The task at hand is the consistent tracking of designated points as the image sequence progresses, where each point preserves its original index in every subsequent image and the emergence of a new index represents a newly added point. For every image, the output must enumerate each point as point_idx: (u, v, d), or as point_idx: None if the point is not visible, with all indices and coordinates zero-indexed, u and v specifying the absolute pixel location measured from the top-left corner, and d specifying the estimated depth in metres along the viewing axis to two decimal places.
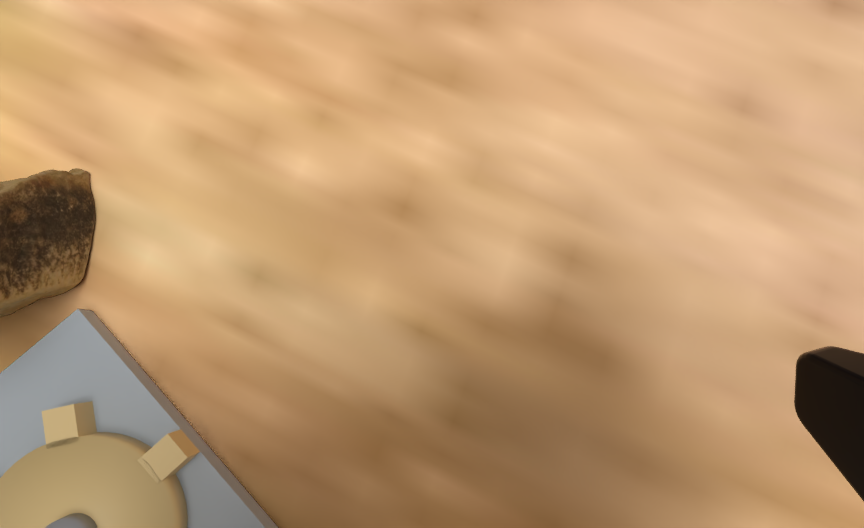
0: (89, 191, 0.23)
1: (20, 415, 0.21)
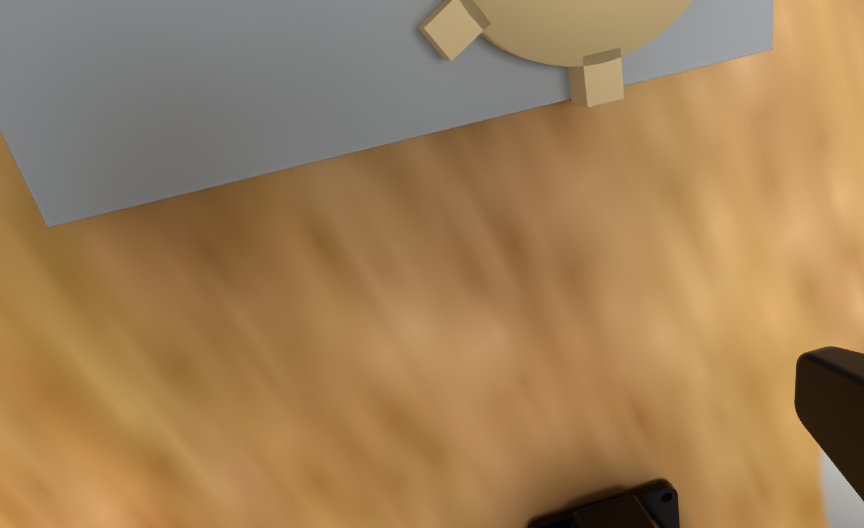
0: None
1: None
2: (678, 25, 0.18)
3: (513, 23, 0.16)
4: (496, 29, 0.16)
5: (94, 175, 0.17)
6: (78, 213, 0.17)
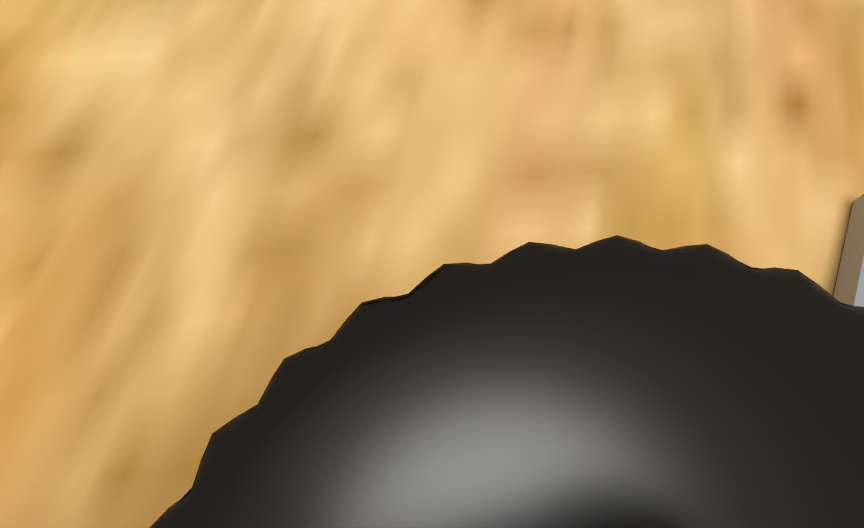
0: None
1: None
2: None
3: None
4: None
5: None
6: None
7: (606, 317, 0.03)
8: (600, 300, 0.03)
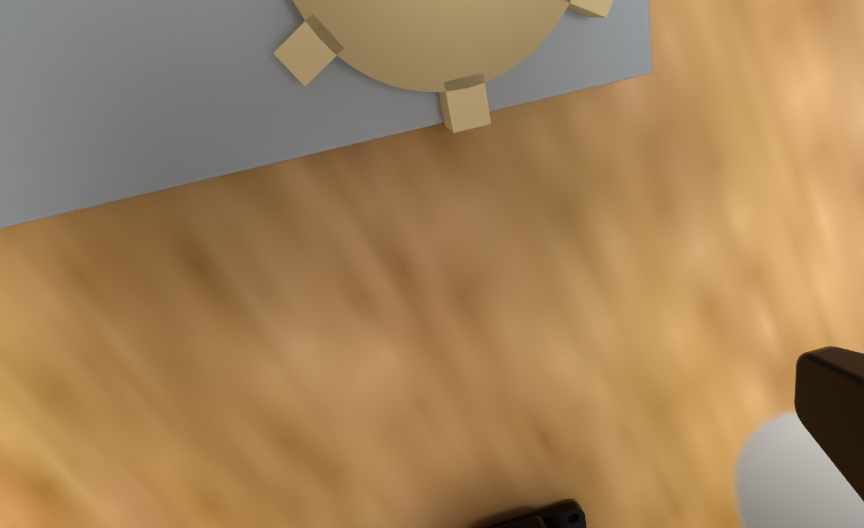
0: None
1: None
2: (552, 48, 0.18)
3: (368, 48, 0.16)
4: (350, 54, 0.16)
5: None
6: None
7: None
8: None
